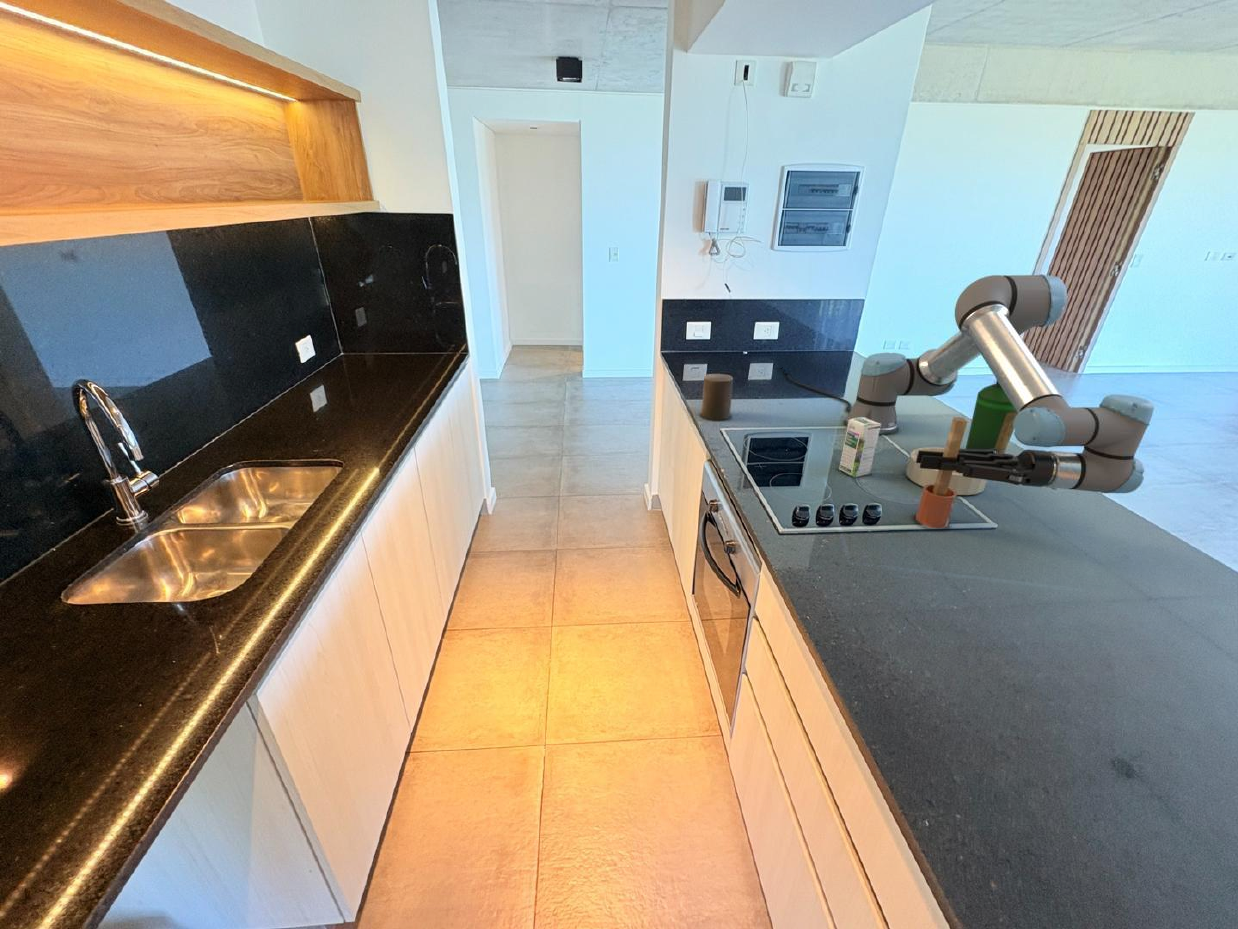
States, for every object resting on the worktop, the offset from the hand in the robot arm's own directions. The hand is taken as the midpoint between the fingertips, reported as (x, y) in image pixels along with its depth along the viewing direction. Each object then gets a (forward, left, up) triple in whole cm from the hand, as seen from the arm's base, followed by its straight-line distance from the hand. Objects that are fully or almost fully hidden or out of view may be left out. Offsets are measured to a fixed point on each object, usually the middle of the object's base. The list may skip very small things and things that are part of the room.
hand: (919, 459), depth 112 cm
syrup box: (-25, +4, -15) cm, 29 cm away
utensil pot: (+2, +5, -15) cm, 16 cm away
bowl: (-15, +23, -15) cm, 31 cm away
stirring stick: (+2, +5, -15) cm, 16 cm away
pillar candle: (-75, -16, -15) cm, 78 cm away
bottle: (-24, +43, -15) cm, 51 cm away
